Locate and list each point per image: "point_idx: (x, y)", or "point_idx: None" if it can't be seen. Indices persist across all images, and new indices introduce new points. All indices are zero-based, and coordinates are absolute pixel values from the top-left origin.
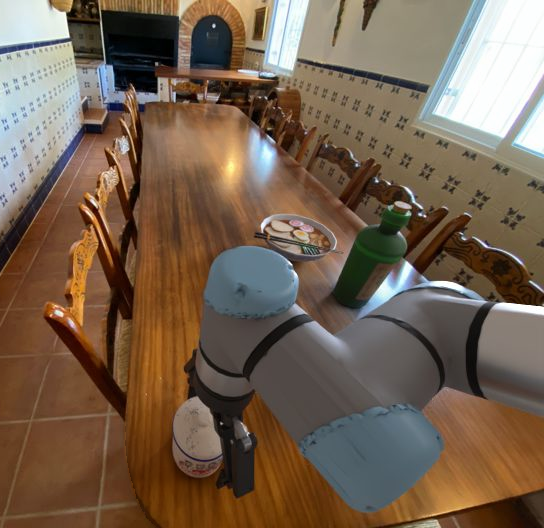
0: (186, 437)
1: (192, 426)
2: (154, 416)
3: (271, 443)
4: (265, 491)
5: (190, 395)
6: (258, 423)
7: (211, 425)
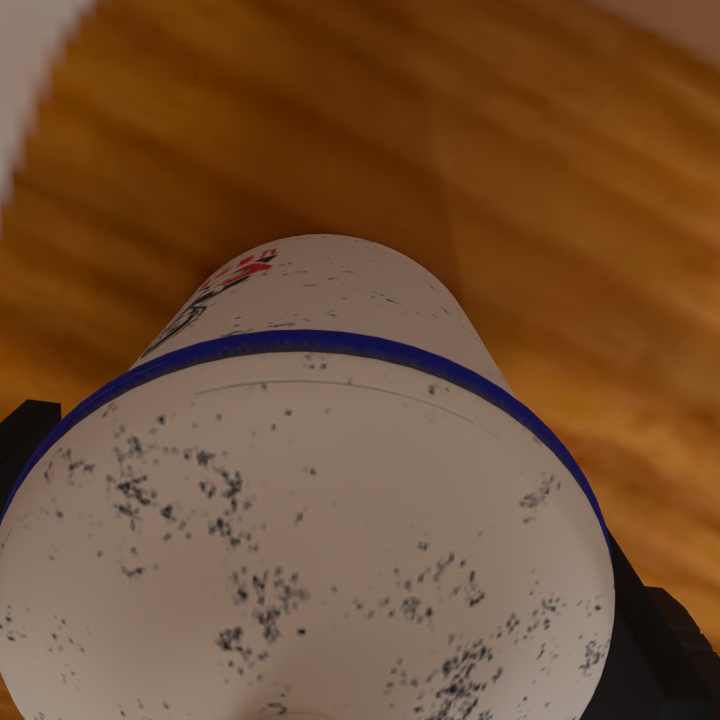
0: (252, 485)
1: (305, 626)
2: (637, 230)
3: None
4: None
5: (625, 627)
6: None
7: None
